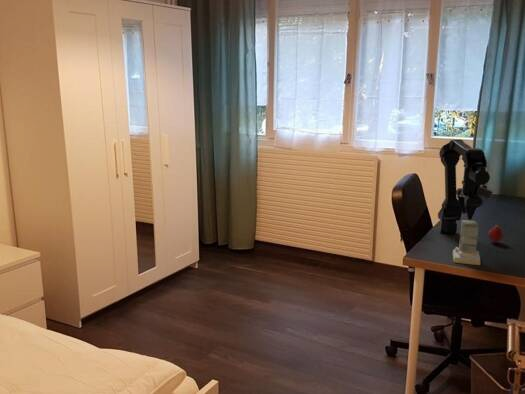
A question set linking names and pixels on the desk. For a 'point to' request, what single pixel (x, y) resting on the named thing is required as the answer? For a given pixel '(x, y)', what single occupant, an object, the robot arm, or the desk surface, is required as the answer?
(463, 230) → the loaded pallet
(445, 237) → the desk surface
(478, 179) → the robot arm
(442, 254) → the desk surface
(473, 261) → the plate
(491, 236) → the onion
